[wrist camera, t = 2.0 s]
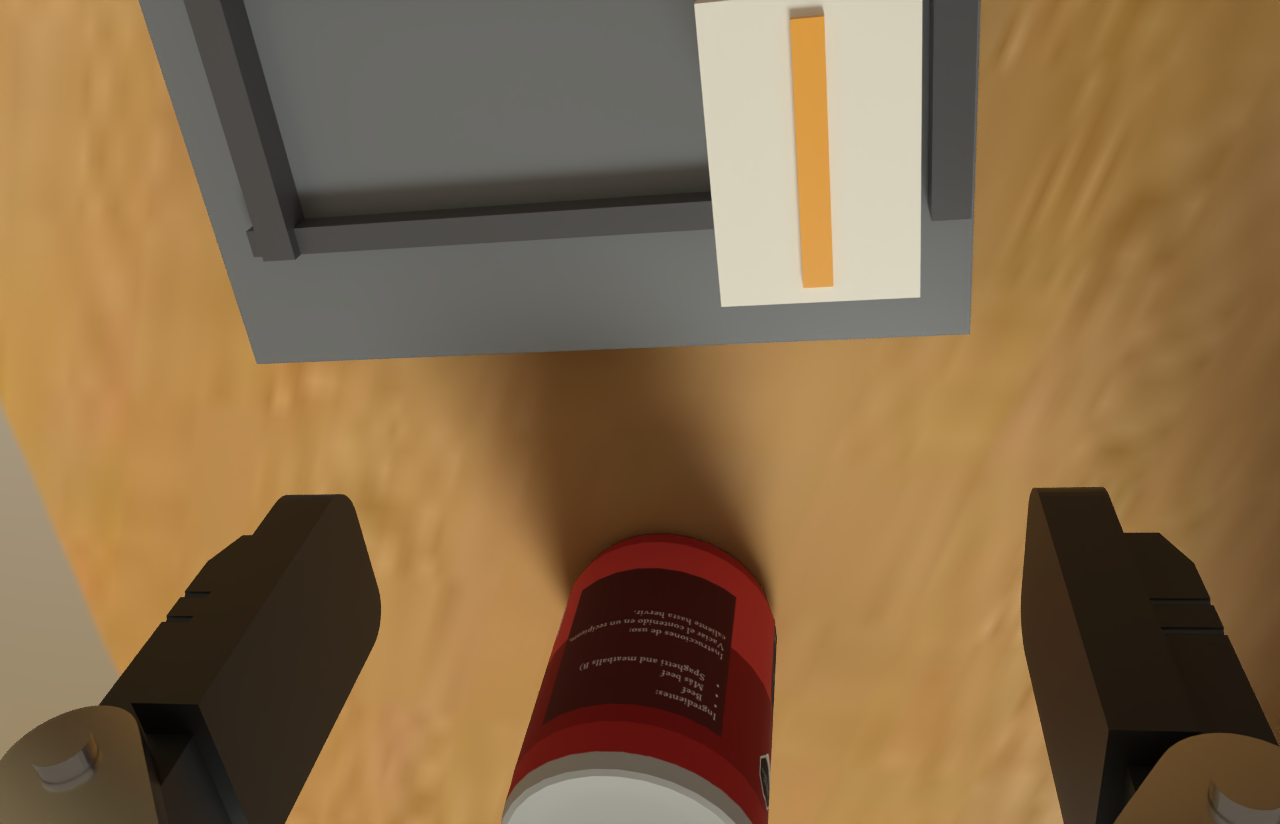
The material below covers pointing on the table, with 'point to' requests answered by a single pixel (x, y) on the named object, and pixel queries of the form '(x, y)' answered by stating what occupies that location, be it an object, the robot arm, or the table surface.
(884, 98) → the block
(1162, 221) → the table surface
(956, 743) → the table surface
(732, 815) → the canned food
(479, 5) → the console
